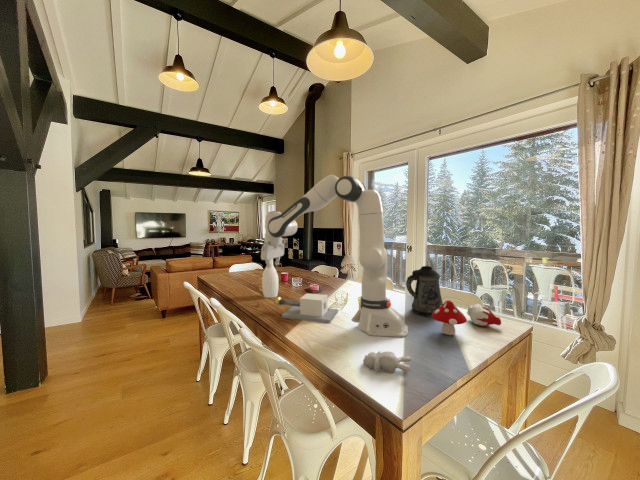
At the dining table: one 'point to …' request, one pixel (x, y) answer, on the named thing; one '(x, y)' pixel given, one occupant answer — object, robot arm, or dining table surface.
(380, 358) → the bunny figurine
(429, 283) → the beer stein
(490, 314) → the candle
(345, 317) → the dining table surface
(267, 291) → the bottle
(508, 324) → the dining table surface
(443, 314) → the decorative mushroom
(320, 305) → the bearing block
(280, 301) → the shaft
